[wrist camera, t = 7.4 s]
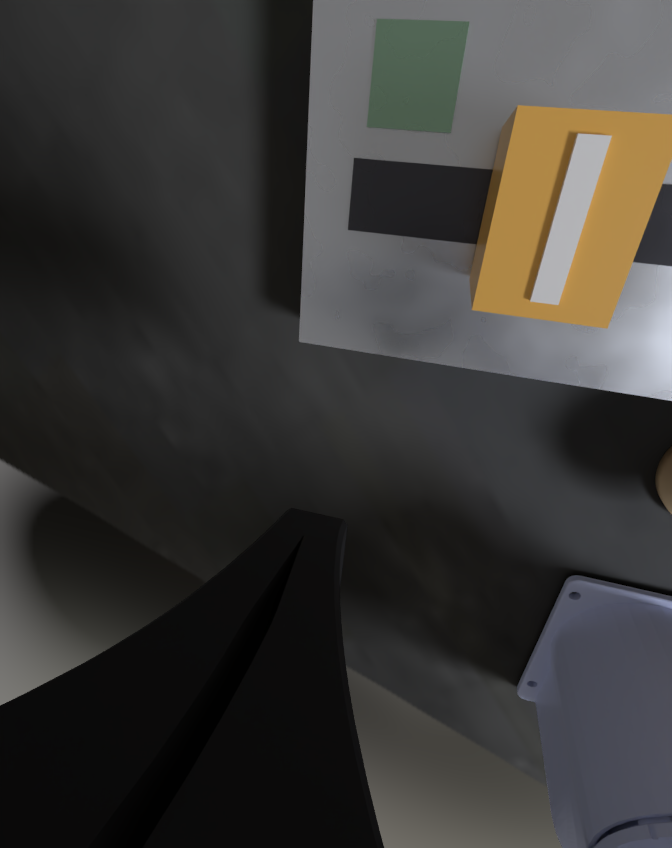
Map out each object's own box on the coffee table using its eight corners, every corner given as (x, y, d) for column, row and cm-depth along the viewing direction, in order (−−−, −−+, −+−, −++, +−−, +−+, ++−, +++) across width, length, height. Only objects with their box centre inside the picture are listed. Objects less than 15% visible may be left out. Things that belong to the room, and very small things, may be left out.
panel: (747, 388, 16) (793, 421, 14) (317, 323, 19) (298, 342, 17) (954, 26, 11) (1073, -13, 9) (336, 9, 14) (313, -24, 12)
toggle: (570, 292, 14) (609, 330, 10) (469, 279, 14) (472, 311, 11) (621, 134, 12) (692, 114, 8) (501, 127, 12) (518, 104, 9)
